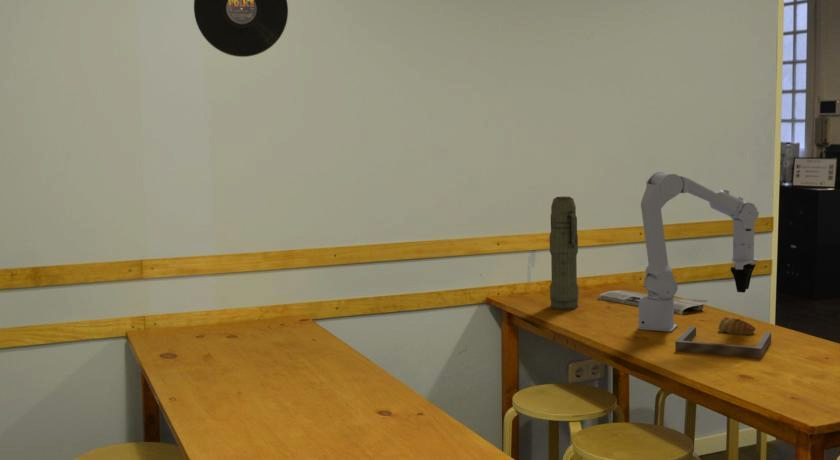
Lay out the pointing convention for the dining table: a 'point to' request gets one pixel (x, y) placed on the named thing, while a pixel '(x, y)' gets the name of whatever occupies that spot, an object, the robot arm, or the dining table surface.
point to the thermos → (564, 254)
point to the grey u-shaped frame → (721, 346)
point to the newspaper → (634, 297)
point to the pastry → (735, 326)
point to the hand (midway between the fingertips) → (742, 290)
